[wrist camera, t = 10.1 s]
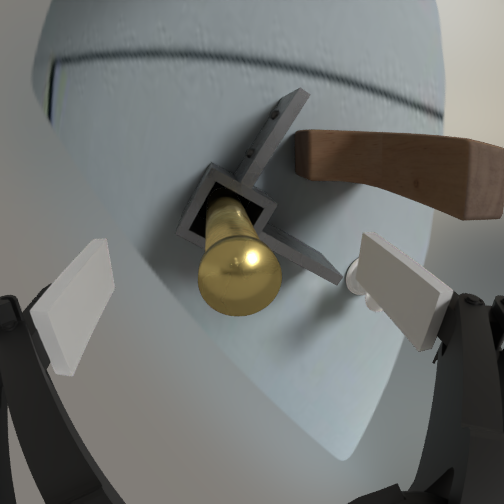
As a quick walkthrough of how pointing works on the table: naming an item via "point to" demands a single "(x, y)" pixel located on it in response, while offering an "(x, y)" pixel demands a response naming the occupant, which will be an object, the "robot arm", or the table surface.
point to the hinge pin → (235, 260)
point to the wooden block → (410, 167)
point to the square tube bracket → (258, 194)
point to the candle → (360, 287)
